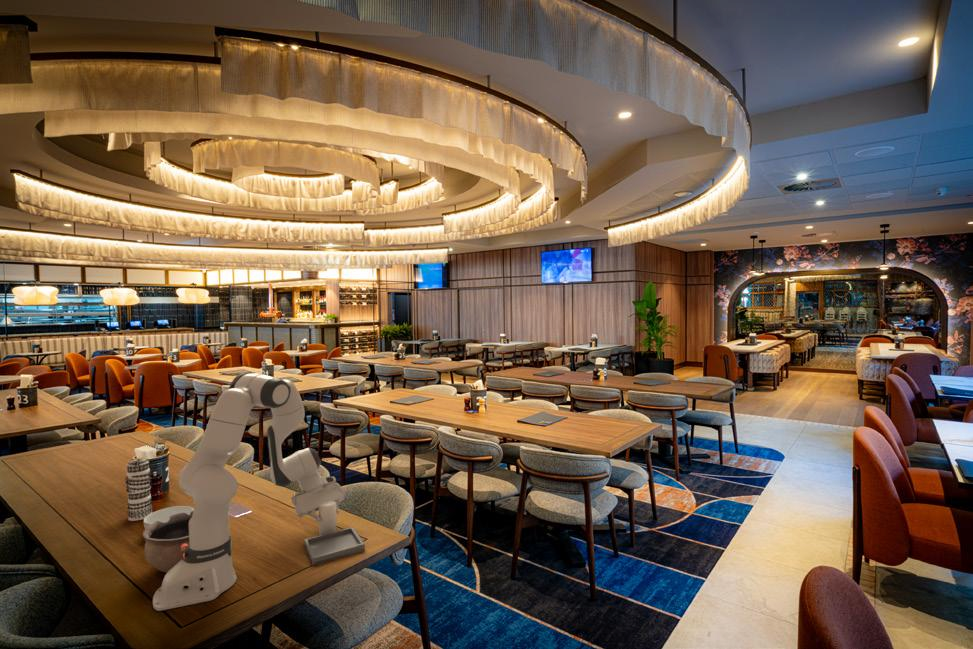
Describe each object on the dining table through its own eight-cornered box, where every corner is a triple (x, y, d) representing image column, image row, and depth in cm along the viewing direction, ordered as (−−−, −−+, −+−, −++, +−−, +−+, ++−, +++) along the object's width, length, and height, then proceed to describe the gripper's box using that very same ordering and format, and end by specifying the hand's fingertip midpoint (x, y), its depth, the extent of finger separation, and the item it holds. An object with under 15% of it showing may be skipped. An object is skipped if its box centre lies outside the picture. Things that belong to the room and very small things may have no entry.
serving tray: (312, 565, 160) (312, 558, 160) (304, 545, 173) (304, 539, 173) (364, 550, 169) (364, 543, 169) (352, 533, 183) (352, 526, 183)
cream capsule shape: (321, 537, 179) (320, 509, 179) (317, 530, 185) (317, 503, 184) (338, 532, 182) (337, 505, 182) (334, 526, 188) (333, 499, 188)
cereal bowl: (169, 543, 177) (168, 525, 177) (133, 539, 181) (132, 522, 181) (204, 523, 194) (203, 506, 194) (170, 520, 197) (170, 504, 197)
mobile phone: (235, 516, 198) (219, 508, 207) (235, 518, 198) (220, 510, 207) (253, 510, 204) (237, 502, 213) (253, 512, 204) (237, 504, 213)
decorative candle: (158, 512, 206) (156, 456, 205) (141, 521, 197) (138, 463, 196) (139, 511, 207) (137, 456, 206) (121, 520, 198) (118, 462, 197)
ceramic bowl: (207, 543, 177) (205, 504, 176) (231, 562, 163) (229, 520, 163) (136, 569, 160) (134, 526, 159) (156, 592, 146) (154, 545, 145)
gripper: (292, 491, 179) (307, 523, 173) (337, 475, 195) (353, 504, 190) (286, 500, 182) (301, 531, 176) (331, 484, 198) (346, 512, 192)
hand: (328, 517), depth 183 cm, fingers closed on cream capsule shape, 6 cm apart
